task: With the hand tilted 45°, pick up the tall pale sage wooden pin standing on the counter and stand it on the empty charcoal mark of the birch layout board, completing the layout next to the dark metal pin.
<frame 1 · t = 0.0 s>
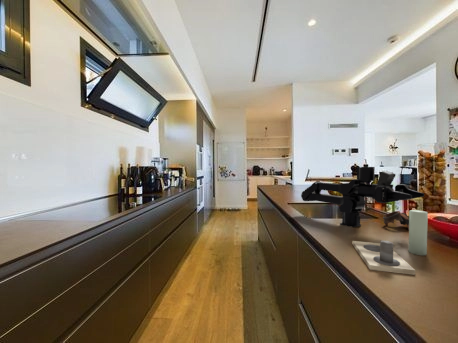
hand: (417, 195, 82), 17 cm above the worktop, tool horizontal, fingers open, 9 cm apart
layout board: (378, 257, 69), on the worktop
sage pin: (417, 252, 72), on the worktop
dark brown curved piece: (398, 227, 102), on the worktop
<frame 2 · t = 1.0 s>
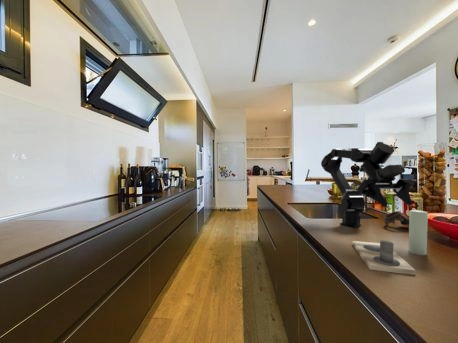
hand: (398, 205, 79), 14 cm above the worktop, tool tilted 45°, fingers open, 9 cm apart
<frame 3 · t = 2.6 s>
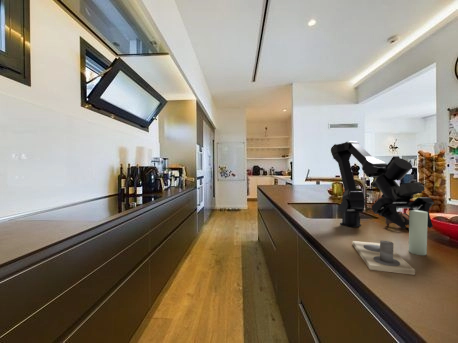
hand: (418, 227, 72), 8 cm above the worktop, tool tilted 45°, fingers open, 9 cm apart
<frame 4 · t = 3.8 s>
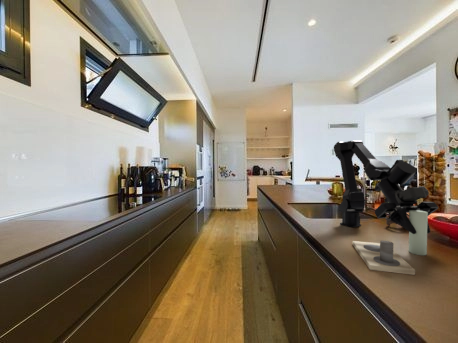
hand: (422, 233, 71), 7 cm above the worktop, tool tilted 45°, fingers closed on sage pin, 4 cm apart
sage pin: (417, 252, 72), on the worktop, touching gripper
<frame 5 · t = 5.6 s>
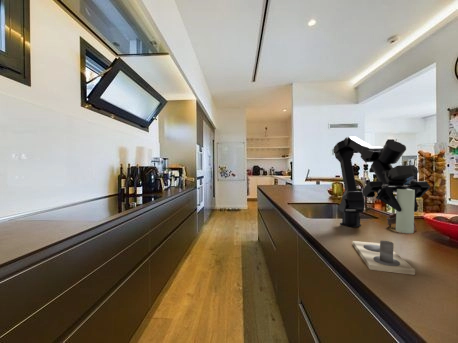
hand: (408, 211, 70), 13 cm above the worktop, tool tilted 45°, fingers closed on sage pin, 4 cm apart
sage pin: (404, 231, 71), point 7 cm above the worktop, touching gripper
when the fingers open (9 cm above the worktop, at t = 7.7 s): sage pin drops 1 cm, resting on layout board.
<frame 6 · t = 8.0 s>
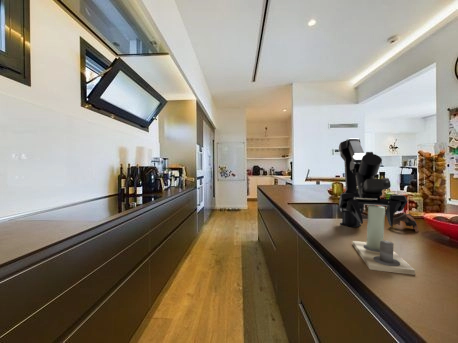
hand: (376, 224, 71), 9 cm above the worktop, tool tilted 45°, fingers open, 8 cm apart
sage pin: (374, 247, 72), point 2 cm above the worktop, touching layout board
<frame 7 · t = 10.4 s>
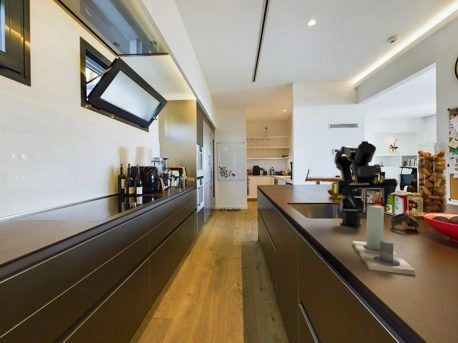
hand: (370, 206, 79), 13 cm above the worktop, tool tilted 40°, fingers open, 9 cm apart
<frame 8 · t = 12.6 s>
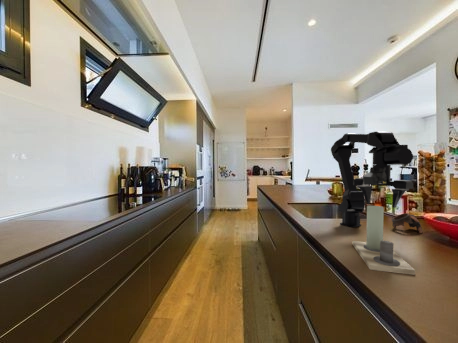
hand: (380, 205, 88), 12 cm above the worktop, tool pointing down, fingers open, 9 cm apart
at the end: sage pin 0.1 cm from the target spot on the layout board, point 1.4 cm above the layout board's base; sage pin tilted 0°; the gripper is holding nothing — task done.
